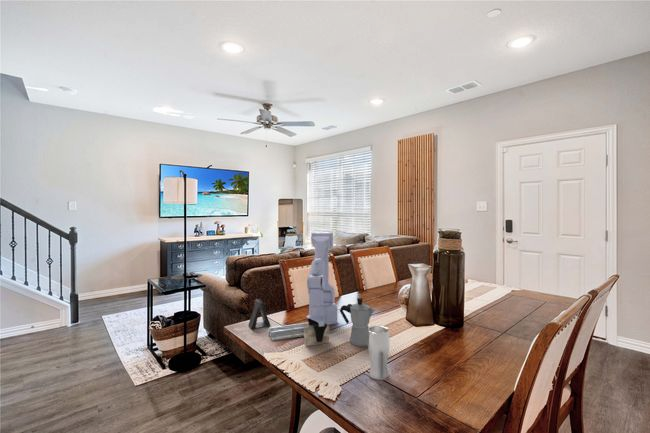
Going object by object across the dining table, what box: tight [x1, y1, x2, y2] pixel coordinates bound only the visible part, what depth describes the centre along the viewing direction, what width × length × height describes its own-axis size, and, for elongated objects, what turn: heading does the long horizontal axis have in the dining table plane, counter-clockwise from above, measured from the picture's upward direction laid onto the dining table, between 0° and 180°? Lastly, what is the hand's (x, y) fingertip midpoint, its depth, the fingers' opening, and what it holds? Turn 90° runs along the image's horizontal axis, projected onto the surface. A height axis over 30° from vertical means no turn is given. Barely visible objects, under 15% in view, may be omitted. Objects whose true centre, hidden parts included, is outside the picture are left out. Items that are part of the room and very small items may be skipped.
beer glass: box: [367, 325, 390, 381], centre depth 98 cm, size 7×7×15 cm
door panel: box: [303, 323, 330, 347], centre depth 122 cm, size 10×2×7 cm, turn 108°
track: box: [268, 321, 309, 342], centre depth 132 cm, size 20×10×3 cm, turn 109°
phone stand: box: [248, 298, 272, 330], centre depth 141 cm, size 9×6×12 cm, turn 116°
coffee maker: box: [339, 297, 376, 348], centre depth 122 cm, size 15×9×18 cm, turn 71°
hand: (316, 337), depth 122 cm, fingers open, 7 cm apart
